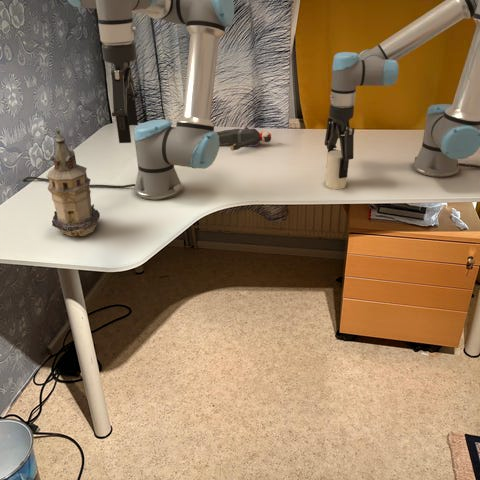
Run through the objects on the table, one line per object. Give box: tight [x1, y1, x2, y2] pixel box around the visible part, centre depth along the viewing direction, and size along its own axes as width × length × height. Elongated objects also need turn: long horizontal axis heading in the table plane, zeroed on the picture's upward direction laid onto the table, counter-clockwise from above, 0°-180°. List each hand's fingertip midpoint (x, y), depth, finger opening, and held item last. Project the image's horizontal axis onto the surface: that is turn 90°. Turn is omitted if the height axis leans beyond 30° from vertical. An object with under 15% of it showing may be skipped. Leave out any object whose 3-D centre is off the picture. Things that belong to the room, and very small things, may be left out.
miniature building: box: [46, 129, 101, 237], centre depth 148 cm, size 13×14×30 cm
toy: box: [215, 126, 272, 152], centre depth 216 cm, size 26×6×30 cm
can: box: [325, 149, 348, 190], centre depth 178 cm, size 7×7×11 cm
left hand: (129, 133), depth 132 cm, fingers open, 13 cm apart
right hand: (336, 172), depth 179 cm, fingers open, 8 cm apart
